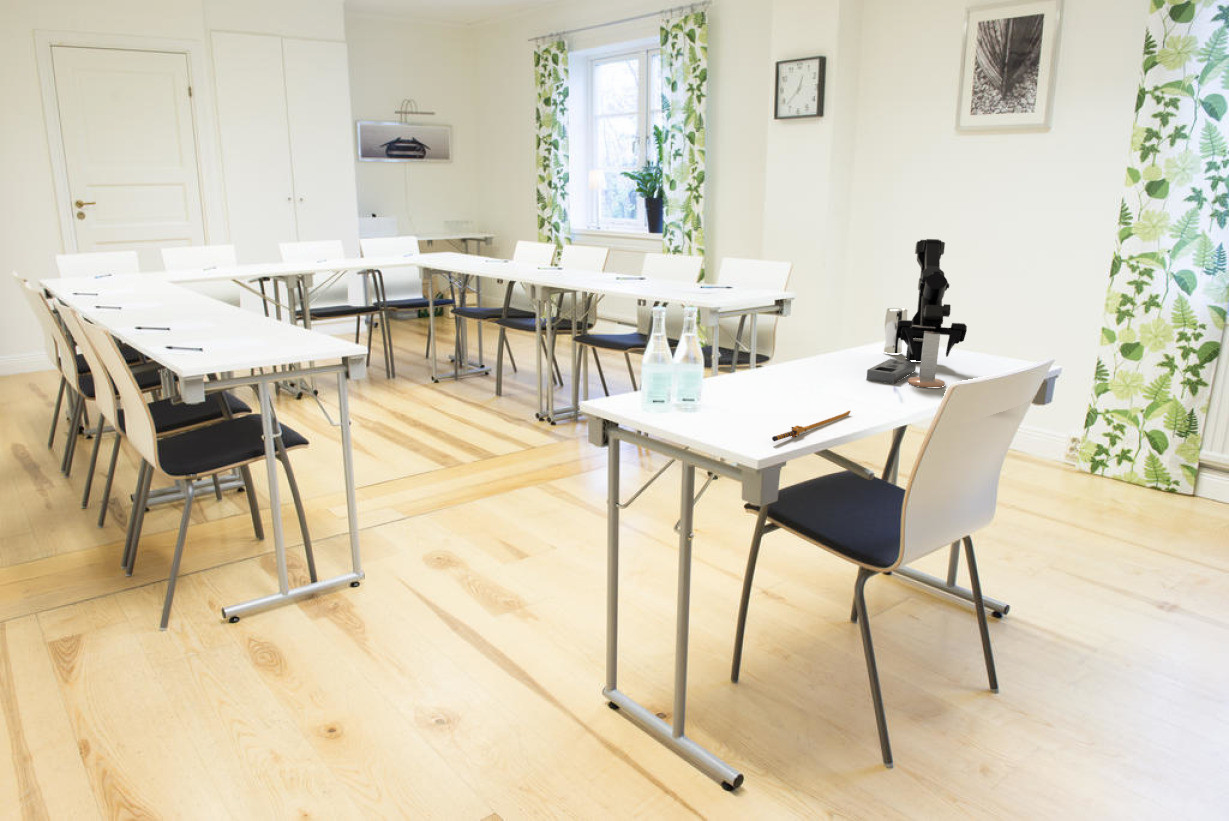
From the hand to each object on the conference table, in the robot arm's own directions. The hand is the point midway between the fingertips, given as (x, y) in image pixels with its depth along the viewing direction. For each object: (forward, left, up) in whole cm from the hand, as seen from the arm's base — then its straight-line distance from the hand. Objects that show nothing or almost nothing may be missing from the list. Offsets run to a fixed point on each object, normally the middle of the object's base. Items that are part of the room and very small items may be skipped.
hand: (929, 354), depth 243 cm
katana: (+46, +44, -9) cm, 64 cm away
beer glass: (-7, -45, -9) cm, 46 cm away
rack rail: (+6, -12, -9) cm, 16 cm away
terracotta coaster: (0, -1, -9) cm, 9 cm away
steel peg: (0, -1, -8) cm, 8 cm away
